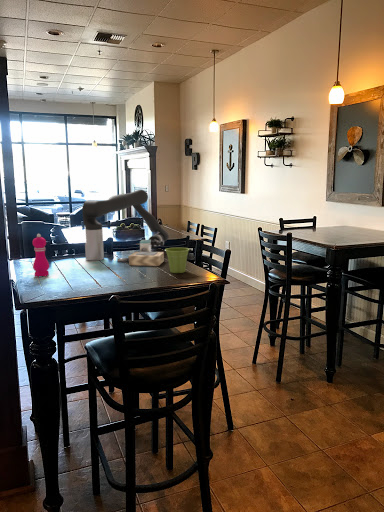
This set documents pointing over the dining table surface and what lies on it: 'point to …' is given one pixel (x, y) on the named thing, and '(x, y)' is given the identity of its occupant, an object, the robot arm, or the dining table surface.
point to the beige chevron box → (146, 258)
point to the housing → (145, 246)
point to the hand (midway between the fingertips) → (149, 244)
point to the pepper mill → (40, 257)
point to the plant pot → (177, 259)
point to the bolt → (123, 259)
